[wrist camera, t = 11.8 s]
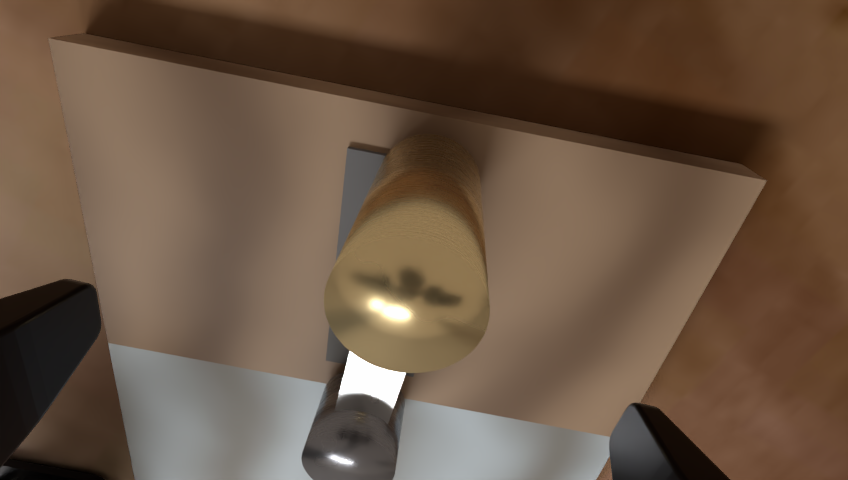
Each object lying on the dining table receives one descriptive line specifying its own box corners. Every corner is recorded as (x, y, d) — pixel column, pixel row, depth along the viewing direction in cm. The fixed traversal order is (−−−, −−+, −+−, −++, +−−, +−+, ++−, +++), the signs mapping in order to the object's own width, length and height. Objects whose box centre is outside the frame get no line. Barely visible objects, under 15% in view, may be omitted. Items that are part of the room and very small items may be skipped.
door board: (156, 483, 27) (138, 513, 25) (83, 33, 15) (42, 38, 14) (534, 552, 27) (538, 585, 26) (741, 163, 16) (770, 183, 14)
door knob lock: (394, 436, 20) (366, 611, 15) (317, 417, 20) (259, 587, 15) (497, 152, 14) (520, 266, 8) (387, 119, 14) (334, 215, 8)
